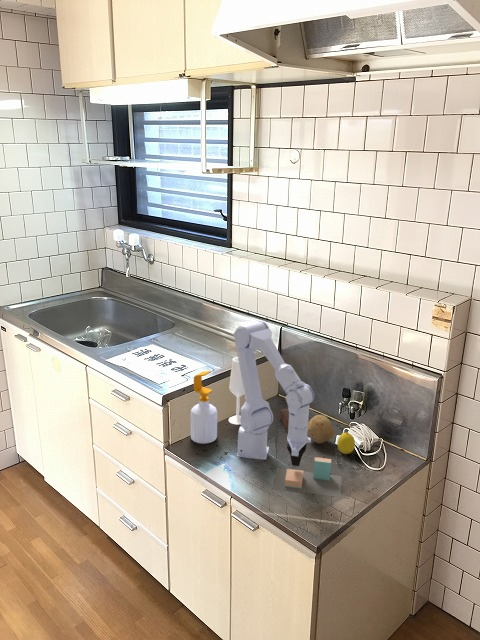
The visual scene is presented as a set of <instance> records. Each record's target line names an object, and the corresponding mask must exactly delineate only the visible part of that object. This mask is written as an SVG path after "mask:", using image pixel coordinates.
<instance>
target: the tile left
mask: <svg viewBox="0 0 480 640" xmlns="http://www.w3.org/2000/svg"><path fill="white" fill-rule="evenodd" d="M286 469H287V472H286V478H285V486H286V487H294V488H301V489H302V482H303V473H304V472H305V471H304V470H299V469H291V468H286Z"/></svg>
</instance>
